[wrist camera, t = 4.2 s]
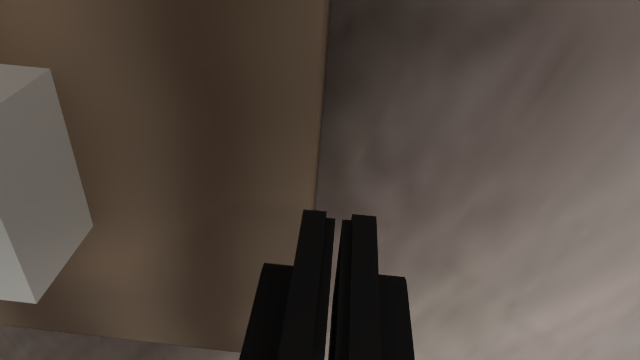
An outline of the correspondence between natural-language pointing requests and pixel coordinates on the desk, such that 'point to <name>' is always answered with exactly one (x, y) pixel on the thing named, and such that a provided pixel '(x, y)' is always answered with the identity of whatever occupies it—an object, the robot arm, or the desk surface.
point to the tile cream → (36, 185)
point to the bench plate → (176, 156)
